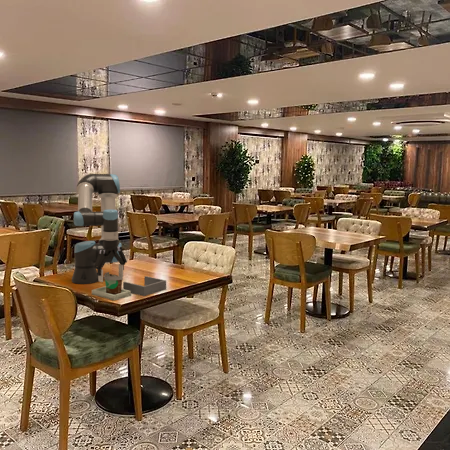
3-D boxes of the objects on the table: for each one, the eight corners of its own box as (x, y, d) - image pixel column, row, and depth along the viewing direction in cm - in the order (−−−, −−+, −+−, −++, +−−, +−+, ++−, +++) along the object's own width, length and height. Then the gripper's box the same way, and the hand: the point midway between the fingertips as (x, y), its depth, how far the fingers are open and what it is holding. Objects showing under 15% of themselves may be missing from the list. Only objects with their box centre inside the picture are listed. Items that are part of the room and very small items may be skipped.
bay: (123, 290, 240) (123, 282, 239) (145, 284, 254) (145, 276, 253) (143, 296, 231) (143, 286, 230) (166, 289, 245) (166, 280, 245)
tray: (91, 294, 232) (91, 289, 231) (108, 289, 241) (108, 285, 241) (114, 300, 222) (114, 295, 222) (130, 295, 231) (130, 291, 231)
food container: (98, 292, 233) (98, 273, 231) (108, 289, 238) (108, 271, 236) (113, 296, 225) (113, 277, 224) (123, 294, 230) (122, 275, 229)
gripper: (96, 243, 215) (96, 285, 218) (133, 237, 236) (133, 275, 239) (86, 241, 220) (87, 282, 223) (123, 235, 240) (124, 273, 243)
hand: (111, 279), depth 231 cm, fingers open, 13 cm apart
